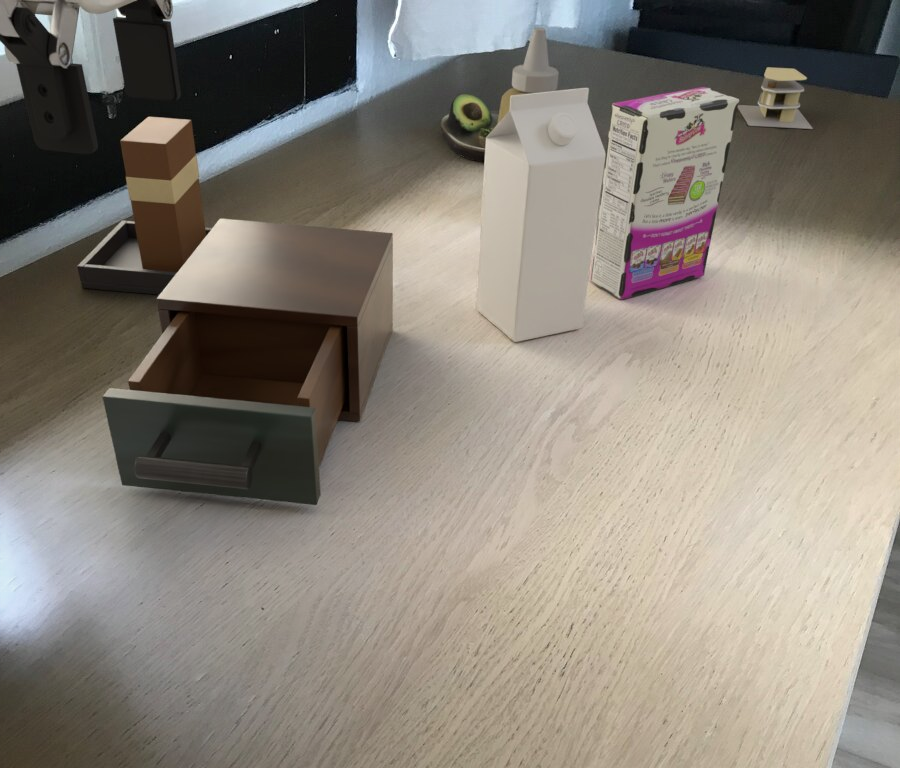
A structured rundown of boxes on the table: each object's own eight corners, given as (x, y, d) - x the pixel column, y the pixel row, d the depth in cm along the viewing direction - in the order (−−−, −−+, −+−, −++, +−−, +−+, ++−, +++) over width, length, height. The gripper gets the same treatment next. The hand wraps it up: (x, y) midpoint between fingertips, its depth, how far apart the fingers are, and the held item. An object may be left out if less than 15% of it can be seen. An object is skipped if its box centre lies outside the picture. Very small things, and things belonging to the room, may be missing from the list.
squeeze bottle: (524, 195, 113) (540, 16, 101) (575, 216, 108) (597, 32, 96) (471, 209, 109) (481, 25, 97) (521, 233, 104) (538, 42, 92)
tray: (81, 288, 90) (76, 266, 89) (125, 241, 99) (122, 220, 97) (232, 301, 89) (230, 279, 88) (264, 253, 98) (262, 232, 96)
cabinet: (360, 422, 75) (357, 316, 69) (173, 404, 76) (156, 298, 70) (392, 329, 87) (392, 232, 81) (231, 314, 87) (219, 218, 82)
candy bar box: (670, 260, 100) (703, 84, 89) (704, 278, 97) (744, 98, 86) (585, 282, 96) (610, 99, 85) (619, 302, 92) (649, 115, 82)
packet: (143, 277, 91) (119, 140, 83) (168, 247, 96) (147, 116, 88) (186, 280, 91) (166, 144, 83) (209, 250, 96) (192, 119, 88)
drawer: (302, 544, 62) (295, 454, 58) (97, 523, 63) (74, 432, 58) (357, 396, 76) (355, 313, 72) (189, 380, 77) (176, 297, 72)
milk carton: (474, 310, 90) (488, 83, 77) (540, 297, 93) (564, 76, 80) (513, 344, 85) (534, 109, 73) (582, 329, 88) (614, 100, 75)
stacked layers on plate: (735, 105, 143) (744, 63, 140) (797, 108, 143) (807, 66, 140) (748, 125, 136) (758, 82, 132) (813, 129, 136) (824, 85, 132)
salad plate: (566, 118, 135) (570, 81, 132) (611, 161, 122) (617, 122, 119) (429, 122, 131) (430, 85, 128) (461, 167, 119) (463, 127, 116)
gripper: (-1, -313, 35) (100, 182, 46) (199, -299, 48) (240, 88, 59) (-186, -319, 36) (-43, 166, 47) (58, -303, 49) (124, 76, 60)
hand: (113, 122), depth 53 cm, fingers open, 9 cm apart
